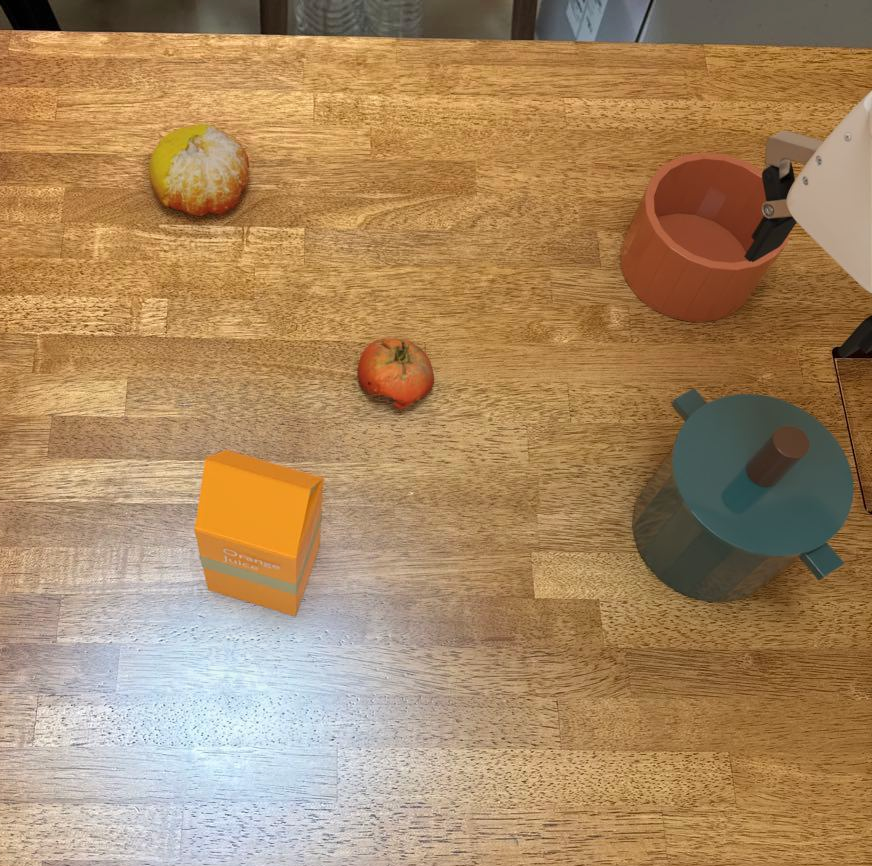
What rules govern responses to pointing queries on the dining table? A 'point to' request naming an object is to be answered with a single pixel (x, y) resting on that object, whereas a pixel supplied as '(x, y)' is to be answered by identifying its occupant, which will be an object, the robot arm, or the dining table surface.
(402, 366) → the tomato
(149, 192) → the dining table surface
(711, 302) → the canister
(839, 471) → the lid
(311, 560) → the orange juice
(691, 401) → the pot
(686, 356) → the dining table surface
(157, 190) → the fruit
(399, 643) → the dining table surface
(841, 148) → the robot arm
